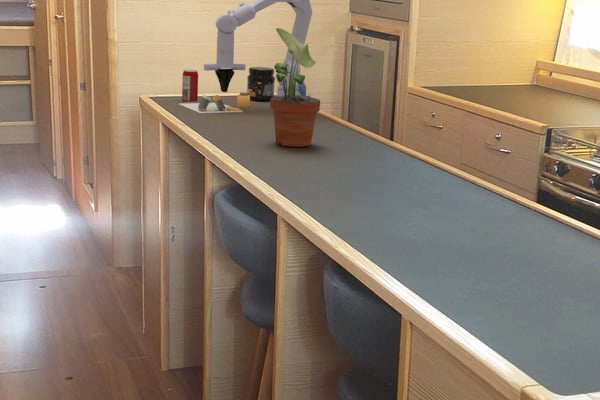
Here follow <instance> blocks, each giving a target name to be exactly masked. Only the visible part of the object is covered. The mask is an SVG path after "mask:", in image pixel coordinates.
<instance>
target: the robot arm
mask: <svg viewBox="0 0 600 400" xmlns="http://www.w3.org/2000/svg"><path fill="white" fill-rule="evenodd" d="M276 3H287V4H288V5H290V7H291V8H292V9H293V10H294V13H295V19H294V23H293V26H292V27H293V28H292V30H291V34H292V35H293V36H294V37H295V38H297V39H298V40H299V41H300V42H301V43H302V44H304V45H306V44H305V43H306V40H307V39H306V38H307V35H308V31H309V27H310V24H311V19H312V15H313V8H312V5H311V1H310V0H256V1H254V2H253V3H249V2H241V3H239V4H238V5H239V6H237V7H236V8H234V9H232V10H227V11H226V13H227V14H221V15H219V16H218V17H217V19H216V22H215V26H216V28H217V37H216V62H215V63H206V64H203V71H206V72H209V71H214V73H215V76H216V77H217V80H218V83H219V86H220V92H222V93H228V90H229V86H230V82H231V81H232V78H233V77H234V75H235V71H246V67H247V65H246V64H244V63H234V61H235V60H234V58H235V56H234V55H235V30H236V29H237V27H238V28H239V27H240V26H242V25H244V24H246V23H248V22H250V21H252V20H253V19H255V17H256V14H257V13H258V12H260V11H262V10H265V9H266V8H268V7H270V6H273V5H274V4H276ZM288 50H290V49H289V48H288V47H287V51H286V55H285V59H284V60H283V62H282V65H283V64H288V65H289V66H288V67H287V71H288V72H290V71H291V66H292V61H293V56H294V61H293V69H292V75H293V71H294V67H295V64H296V61H297V59H296V58H295V55H294V54H291V53H290V52H289V51H288ZM290 51H292V50H290ZM296 71H297V75H301V74H300V73H301V65H300V63H299V62H298V70H297V64H296V68H295V73H294V75H295V76H296ZM285 78H286V81H287V95H288V86H289V78H290V73H287V76H286V77H285ZM276 81H277V84H278V86H277V90H276V91H277V93H276V96H284V90H283V80H282V82H279V81H278V79H277V78H276ZM291 81H292V78H291ZM284 83H285V80H284ZM293 83H294V80H293ZM298 86H299V84H298V83H297V81H296V90H295V95H301V94H300V93H299V92H298ZM285 89H286V84H285Z"/></svg>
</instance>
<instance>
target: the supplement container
mask: <svg viewBox="0 0 600 400" xmlns="http://www.w3.org/2000/svg"><path fill="white" fill-rule="evenodd" d="M248 73H249V74H248V75H247V84H246V85H247V87H246V93H248V95H250V101H253V102H262V103H263V102H264V103H265V102H270V99H271V97H275V81H276V76H274V74H275V68H272V67H267V66H265V67H264V66H263V67H262V66H251V67H249V68H248Z"/></svg>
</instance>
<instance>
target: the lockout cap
mask: <svg viewBox="0 0 600 400" xmlns="http://www.w3.org/2000/svg"><path fill="white" fill-rule="evenodd" d="M236 97H237V99H236V108H250V104H251V100H250V95H248V93H247V92H243V91H242V92H239V94H237V96H236Z"/></svg>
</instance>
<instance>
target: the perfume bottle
mask: <svg viewBox="0 0 600 400" xmlns="http://www.w3.org/2000/svg"><path fill="white" fill-rule="evenodd" d="M298 92H299V93H300V94H301V95H304V96H307V86H306V84H305V82H304V81H303V83H302V85H301V84H299V86H298Z"/></svg>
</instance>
